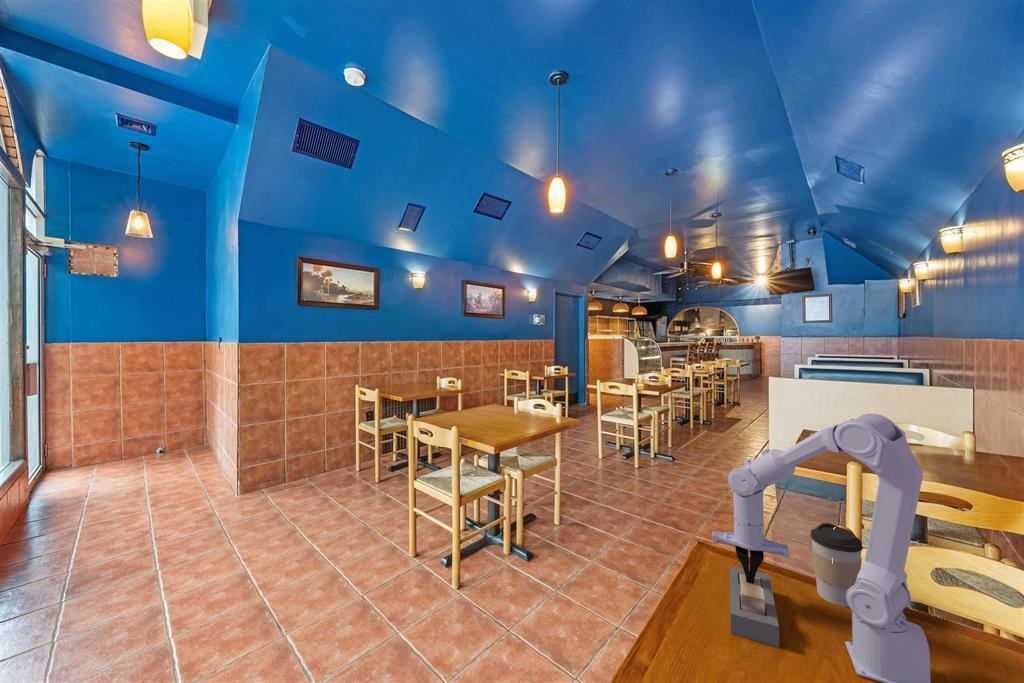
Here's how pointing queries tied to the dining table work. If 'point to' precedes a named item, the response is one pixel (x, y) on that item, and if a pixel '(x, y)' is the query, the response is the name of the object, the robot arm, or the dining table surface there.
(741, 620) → the grey peg hole board
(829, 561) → the coffee cup
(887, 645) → the robot arm
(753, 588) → the near peg
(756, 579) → the far peg
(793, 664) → the dining table surface
